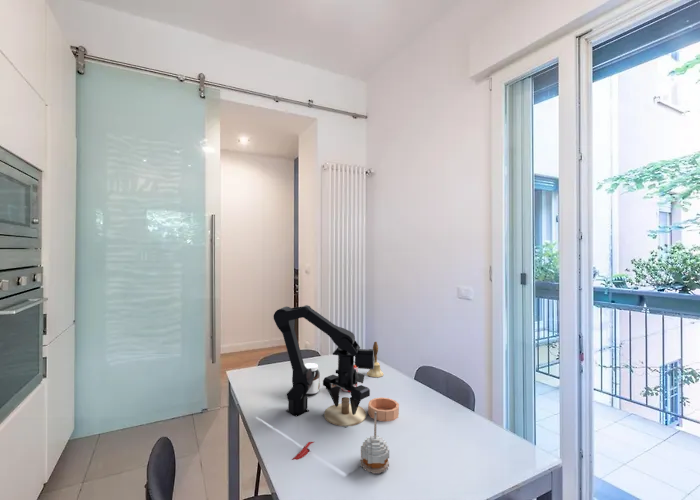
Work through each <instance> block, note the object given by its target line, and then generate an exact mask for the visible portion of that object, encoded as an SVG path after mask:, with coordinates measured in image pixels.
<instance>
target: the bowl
mask: <svg viewBox="0 0 700 500" xmlns="http://www.w3.org/2000/svg"><path fill="white" fill-rule="evenodd" d="M367 408H368V409H367V413H368V414H367V415H369V417H370V418H371V419H373V420H374V412H377V422H378V421H380V422H391V421H392V422H393V421H395V420H397V419H398V418H399V415H400V404H399V402H397V400H394V399H392V398H389V397H375V398H372V399H370V400H369V401H368V404H367Z"/></svg>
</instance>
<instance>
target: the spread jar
mask: <svg viewBox="0 0 700 500" xmlns="http://www.w3.org/2000/svg"><path fill="white" fill-rule="evenodd" d="M304 365H305V367H306V368H307V369H310V368H311V371H312V375H313V377H314V379H313V384H312V386H311V387H310V389H309V390H308V392H307V393H306V394H307V397H312V396H316V395H317V394H319V393H320V384H321V383H320V382H321V374H320V370H319V365H318V363H314V362H306V363H304Z"/></svg>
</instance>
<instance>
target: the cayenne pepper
mask: <svg viewBox="0 0 700 500" xmlns="http://www.w3.org/2000/svg"><path fill="white" fill-rule="evenodd" d="M314 443H315V441H308V442H307V443H306V445H305V446H303V448H302V449H301V450H300V451H299V452H298V453H297V454H296V455H295V456H294V457H293V458H291V461H292V460H296V461H298V460H301V459H302V458H304V457H306V455H307V454H308V453H309V451H310V449H309V448H308V447H310V446H311V445H312V444H314Z"/></svg>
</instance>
